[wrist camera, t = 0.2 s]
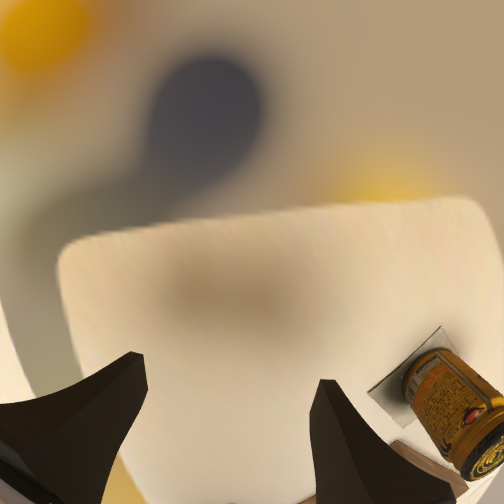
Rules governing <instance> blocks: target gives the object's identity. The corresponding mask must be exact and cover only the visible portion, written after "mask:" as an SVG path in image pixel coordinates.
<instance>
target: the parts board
mask: <svg viewBox="0 0 504 504" xmlns="http://www.w3.org/2000/svg"><path fill="white" fill-rule="evenodd" d="M390 447H391V448H392V449H393V450H394V451H396V452H397V453H398V454H400V455H401V456H402V457H404V458H405V459H406V460H408V461H409V462H411V463H412V464H414V465H415V466H417V467H418V468H420V469H422V470H424V471H425V472H427V473H429V474H431V475H433V476H435V477H437V478H440V479H442V480H444V481H446V482H449V483H450V485H451V487H452V490H453V492H454V495H455V498H456V499H457V498H458V497H460V496H461V495H462V494H463V493H465V492H466V491H467V490H468V489H469V487H468V486H467V484H466V482H465V481H464V479H463V478H462V476H460V475H458V474H456V473H454V472H452V471H450V470H449V469H447V468H445V467H443V466H441V465H439V464H437V463H436V462H434V461H432V460H430V459H428V458H427V457H425V456H423V455H421V454H420V453H418V452H416V451H415V450H413V449H411V448H409V447H408V446H406V445H404V444H403V443H401V442H399V441H398V440H396V441H395V442H393V443H392V444H391V445H390ZM300 504H316V495H315V496H313V497H311V498H309V499H307V500H306V501H304V502H302V503H300Z"/></svg>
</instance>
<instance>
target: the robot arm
mask: <svg viewBox="0 0 504 504" xmlns="http://www.w3.org/2000/svg"><path fill="white" fill-rule="evenodd" d="M147 391H148V385H147V379H146V372H145V365H144V357H143V354H139V353H135V352H131V351H130V352H128V353H127V354H125V355H123V356H122V357H120V358H119V359H117V360H115V361H114V362H112V363H111V364H109V365H108V366H106V367H104V368H103V369H101V370H99V371H98V372H96V373H94V374H93V375H91V376H89V377H87V378H85V379H83V380H82V381H80V382H78V383H76V384H74V385H72V386H70V387H68V388H65V389H63V390H60V391H58V392H55V393H52V394H49V395H46V396H42V397H39V398H36V399H32V400H27V401H22V402H15V403H7V404H0V504H101V501H102V497H103V493H104V490H105V486H106V483H107V480H108V477H109V474H110V471H111V468H112V465H113V463H114V460H115V457H116V455H117V452H118V450H119V448H120V446H121V444H122V442H123V440H124V439H125V437H126V435H127V433H128V431H129V430H130V428H131V426H132V424H133V422H134V421H135V419H136V417H137V415H138V413H139V411H140V409H141V407H142V405H143V402H144V400H145V397H146V394H147ZM310 440H311V448H312V455H313V462H314V470H315V478H316V504H456V498H455V495H454V492H453V490H452V487H451V485H450V483H449V482H446V481H444V480H442V479H440V478H437V477H435V476H433V475H431V474H429V473H427V472H425V471H424V470H422V469H420V468H418V467H417V466H415V465H414V464H412V463H411V462H409V461H408V460H406V459H405V458H404V457H402V456H401V455H400V454H398V453H397V452H396V451H394V450H393V449H392V448H391V447H390V446H389V445H388V444H386V443H385V442H384V441H383V440H382V439H381V438H380V437H379V436H378V435H377V434H376V433H375V432H374V431H373V430H372V429H371V427H370V426H369V425H368V424H367V423H366V422H365V420H364V419H363V418H362V417H361V415H360V414H359V413H358V411H357V410H356V409H355V408H354V406H353V405H352V403H351V402H350V401H349V399H348V398H347V396H346V395H345V393H344V392H343V391H342V389H341V388H340V386H339V385H338V383H337V382H336V380H326V379H320V382H319V385H318V388H317V392H316V395H315V398H314V401H313V404H312V407H311V410H310Z"/></svg>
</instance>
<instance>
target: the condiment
mask: <svg viewBox="0 0 504 504" xmlns="http://www.w3.org/2000/svg"><path fill="white" fill-rule="evenodd" d="M401 377H402V378H401ZM368 395H369V396H370V397H371V398H372V399H374V400H375V401H376V402H377V403H378V404H379V405H380V406H381V407H382V408H383V409H384V410H385V411H386V412H387V413H388V414H389V415H390V416H391V417H392V418H393V419H394V420H395V421H396V422H397V423H398V424H399V425H400V426H401V427H402V428H403V429H404V428H405V427H406V426H408V425H409V424H410V423H412V422H413V421H414V420H415V419H416V418H418V419H419V421H420V423H421V424H422V425H423V427H424V428H425V430H426V431H427V433H428V434H429V436H430V437H431V439H432V441H433V442H434V444H435V446H436V447H437V449H438V450H439V452H440V453H441V456H442V457H443V458H444V459H445V460H446V461H447V462H450V463H453V465H454V467H455V468H456V469H457V470H458V471H459V472H460V474H461V476H462V478H463V479H464V480H466V481H470V482H472V481H475V480H478V479H480V478H483V477H485V476H486V475H488V474H490V473H491V472H493V471H494V470H495V469H496V468H497V467H499V466H500V465H501V464H502V463H503V462H504V396H503V395H502V394H501V393H500V392H499V391H498V390H496V389H494V388H493V387H492V386H491V385H490V384H489V383H488V382H487V381H486V380H484V378H482V377H481V376H480V375H479V374H478V373H477V372H475V371H474V370H473V369H472V368H471V367H469V366H468V365H467V364H466V363H465V362H464V361H463V360H461V359H460V357H459V355H458V354H457V352H456V350H455V349H454V347H453V345H452V343H451V342H450V340H449V338H448V336H447V335H446V333H445V331H444V330H443V328H442V327H441V328H440V329H439V330H438V331H437V332H436V333H435V334H434V335H433V336H432V337H430V338H429V339H428V340H427V341H426V342H425V343H424V345H423V346H421V347H420V348H419V349H418V350H417V351H416V352H415V353H414V354H413V355H412V356H410V357H409V359H408V360H407V361H406V362H404V363H403V364H402V366H401V367H400V368H399V369H397V370H396V371H394V372H393V373H392V374H391V375H390V376H389V377H387V378H386V379H385V380H384V381H383V382H382V383H381V384H380V385H379V386H378V387H376V388H375V389H373V390H372V391H371V392H370V393H368ZM408 405H410V406H408Z"/></svg>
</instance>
